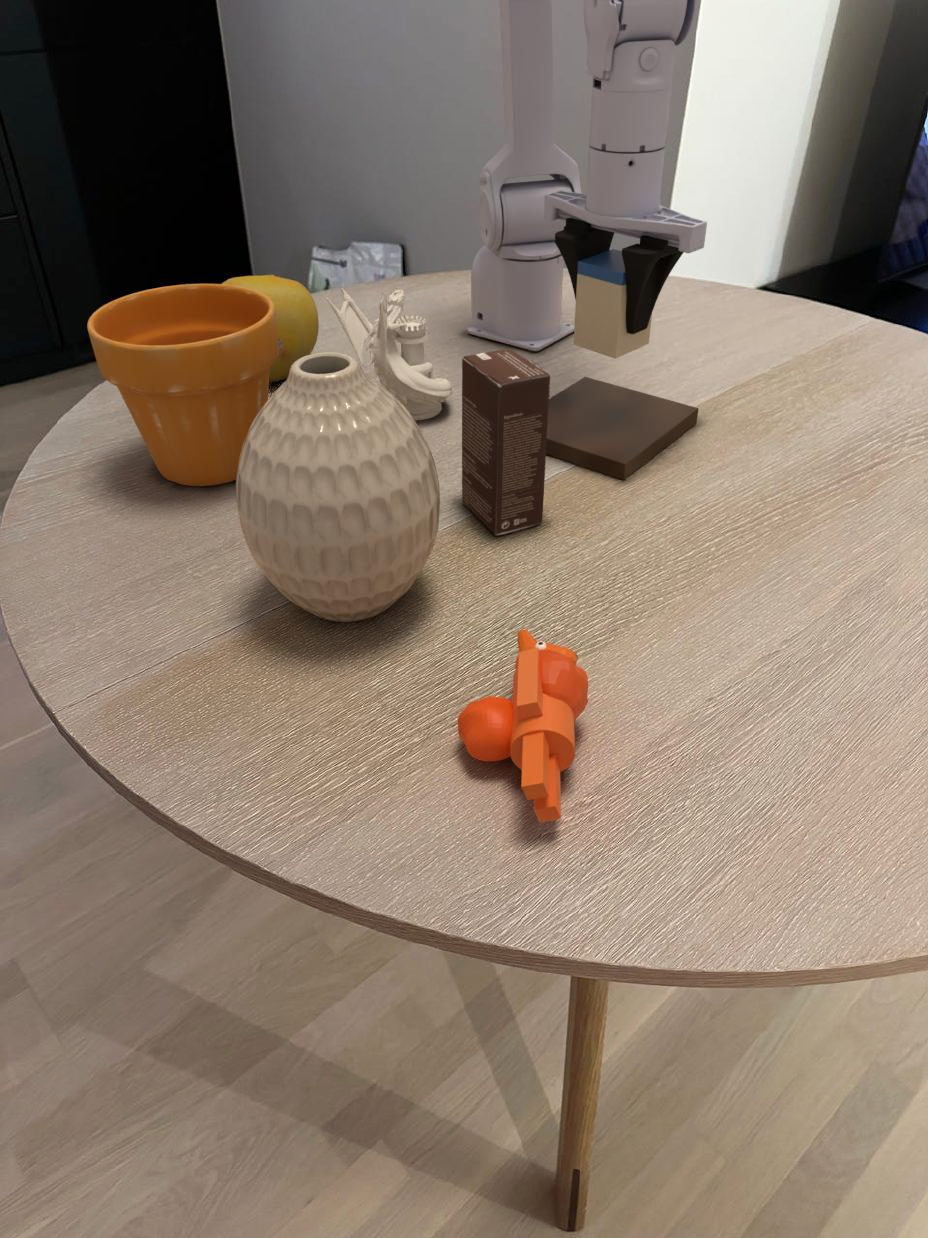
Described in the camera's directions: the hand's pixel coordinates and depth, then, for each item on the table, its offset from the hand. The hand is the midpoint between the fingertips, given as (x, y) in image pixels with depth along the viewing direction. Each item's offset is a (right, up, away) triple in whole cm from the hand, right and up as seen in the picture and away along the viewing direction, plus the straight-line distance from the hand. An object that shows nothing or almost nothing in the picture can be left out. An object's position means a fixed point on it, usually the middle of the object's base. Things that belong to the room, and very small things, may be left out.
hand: (612, 322), depth 78 cm
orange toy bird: (-9, -33, -26) cm, 43 cm away
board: (0, -8, +5) cm, 9 cm away
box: (-10, -17, -6) cm, 20 cm away
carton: (0, -1, +1) cm, 2 cm away
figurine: (-19, -6, +9) cm, 22 cm away
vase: (-20, -24, -14) cm, 34 cm away
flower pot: (-34, -12, +2) cm, 36 cm away
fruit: (-32, 0, +16) cm, 36 cm away
